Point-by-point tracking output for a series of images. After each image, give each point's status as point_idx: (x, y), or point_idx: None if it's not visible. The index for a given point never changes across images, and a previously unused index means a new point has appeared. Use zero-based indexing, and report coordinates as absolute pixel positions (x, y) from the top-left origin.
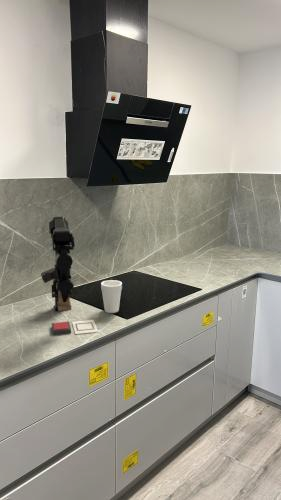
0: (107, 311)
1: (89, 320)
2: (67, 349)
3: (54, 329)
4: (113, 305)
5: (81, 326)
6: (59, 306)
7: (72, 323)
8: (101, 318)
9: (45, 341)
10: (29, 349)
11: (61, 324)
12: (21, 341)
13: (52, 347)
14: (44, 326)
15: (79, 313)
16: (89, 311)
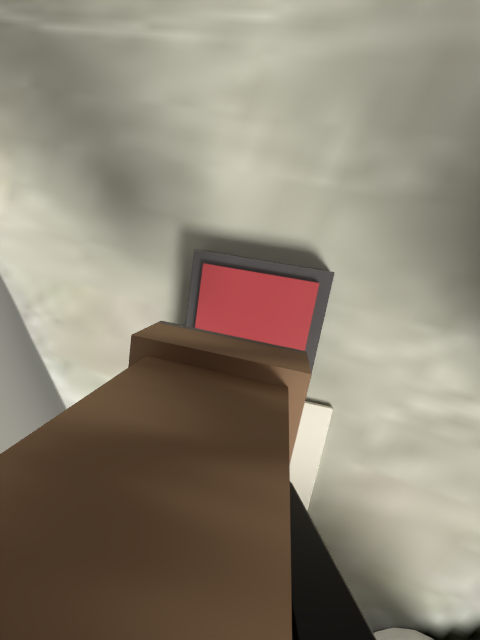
0: (386, 637)
1: (305, 502)
2: (11, 280)
3: (218, 265)
4: None
5: None
6: (133, 349)
7: (311, 403)
8: None
9: (130, 186)
10: (59, 72)
11: (267, 327)
12: (179, 24)
13: (49, 211)
14: (357, 223)
15: (463, 497)
16: (461, 560)
